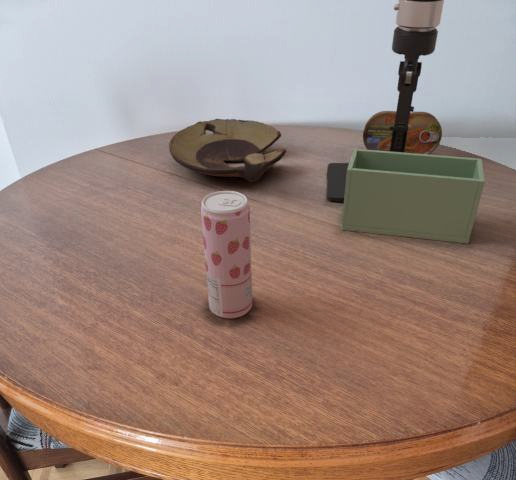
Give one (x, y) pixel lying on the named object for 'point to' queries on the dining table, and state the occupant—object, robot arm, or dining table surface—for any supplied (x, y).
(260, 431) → the dining table surface
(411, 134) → the tin
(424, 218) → the waste bin
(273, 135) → the broken brown bowl
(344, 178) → the phone
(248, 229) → the beverage can
